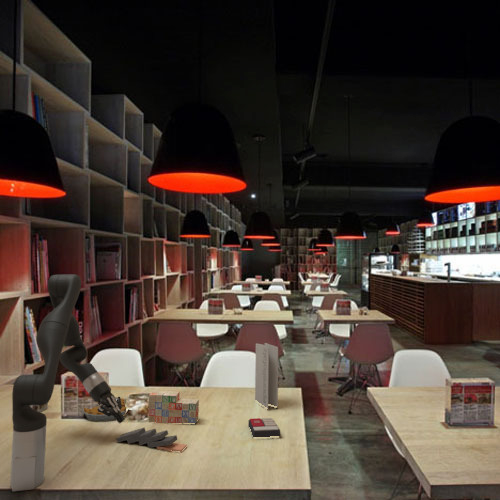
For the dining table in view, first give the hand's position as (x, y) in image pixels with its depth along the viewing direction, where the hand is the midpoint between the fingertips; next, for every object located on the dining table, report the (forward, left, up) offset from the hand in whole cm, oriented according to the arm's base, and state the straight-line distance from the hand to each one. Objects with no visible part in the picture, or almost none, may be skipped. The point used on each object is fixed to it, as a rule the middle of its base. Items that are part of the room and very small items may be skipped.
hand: (122, 421), depth 159 cm
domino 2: (-2, -4, -7) cm, 8 cm away
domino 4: (-7, -11, -7) cm, 15 cm away
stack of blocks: (+17, -21, -8) cm, 28 cm away
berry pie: (+33, +8, -8) cm, 35 cm away
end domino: (-9, -15, -7) cm, 18 cm away
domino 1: (0, +1, -7) cm, 7 cm away
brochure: (+29, -68, -8) cm, 74 cm away
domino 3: (-4, -8, -6) cm, 11 cm away
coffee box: (+43, +41, -8) cm, 60 cm away
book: (-3, -57, -8) cm, 58 cm away
